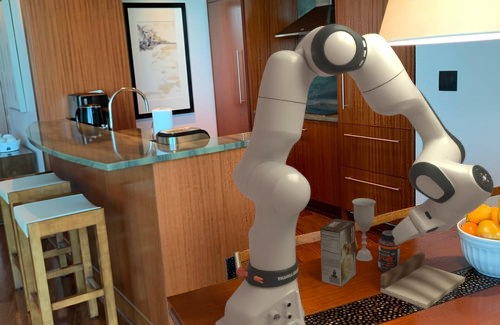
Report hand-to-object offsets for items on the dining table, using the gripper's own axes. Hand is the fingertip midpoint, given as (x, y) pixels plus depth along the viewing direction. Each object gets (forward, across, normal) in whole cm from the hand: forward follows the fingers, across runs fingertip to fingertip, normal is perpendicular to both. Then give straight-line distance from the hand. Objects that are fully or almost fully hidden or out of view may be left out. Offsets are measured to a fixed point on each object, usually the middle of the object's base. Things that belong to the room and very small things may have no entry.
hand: (408, 238), depth 132 cm
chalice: (+20, 0, -4) cm, 21 cm away
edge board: (+4, +1, +12) cm, 13 cm away
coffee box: (+17, +15, 0) cm, 22 cm away
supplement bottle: (+13, 0, +4) cm, 14 cm away
